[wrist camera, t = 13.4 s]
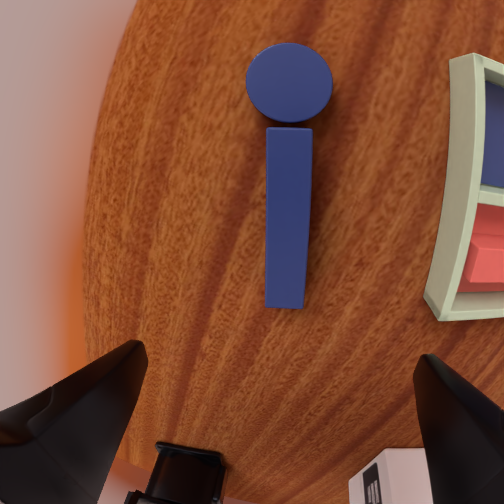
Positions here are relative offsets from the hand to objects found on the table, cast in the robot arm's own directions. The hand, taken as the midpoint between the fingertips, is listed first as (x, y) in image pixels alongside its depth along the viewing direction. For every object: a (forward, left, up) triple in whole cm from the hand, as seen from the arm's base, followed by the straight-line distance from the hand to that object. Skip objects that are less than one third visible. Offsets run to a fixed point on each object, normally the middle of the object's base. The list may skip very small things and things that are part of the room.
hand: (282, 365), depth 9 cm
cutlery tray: (+18, +5, -7) cm, 20 cm away
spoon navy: (0, +5, -7) cm, 9 cm away
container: (+13, -23, -8) cm, 27 cm away
